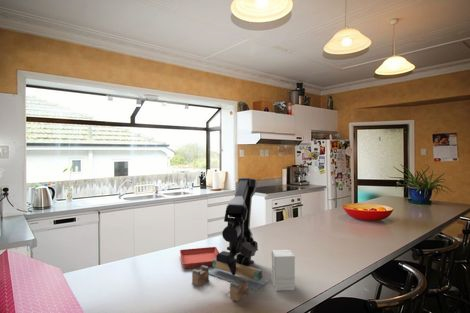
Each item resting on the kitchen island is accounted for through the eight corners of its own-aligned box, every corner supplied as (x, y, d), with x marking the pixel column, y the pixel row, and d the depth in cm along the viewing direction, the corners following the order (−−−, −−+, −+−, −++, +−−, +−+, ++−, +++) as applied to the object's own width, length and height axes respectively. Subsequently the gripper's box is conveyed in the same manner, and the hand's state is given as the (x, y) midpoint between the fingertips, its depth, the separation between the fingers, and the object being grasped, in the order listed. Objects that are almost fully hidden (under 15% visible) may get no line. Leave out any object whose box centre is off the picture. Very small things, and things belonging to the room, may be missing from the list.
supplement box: (290, 281, 107) (290, 249, 107) (295, 290, 99) (295, 256, 99) (271, 281, 106) (271, 249, 106) (274, 291, 99) (274, 256, 99)
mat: (219, 267, 119) (219, 266, 119) (267, 282, 105) (267, 281, 105) (206, 273, 113) (206, 272, 113) (256, 290, 99) (256, 289, 99)
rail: (217, 264, 117) (217, 257, 117) (262, 278, 104) (262, 270, 104) (212, 267, 114) (212, 259, 114) (257, 281, 102) (257, 273, 102)
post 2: (240, 291, 98) (240, 277, 98) (247, 294, 97) (247, 279, 97) (230, 298, 93) (230, 283, 93) (237, 301, 92) (237, 285, 92)
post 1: (202, 278, 109) (203, 265, 109) (208, 280, 107) (208, 267, 107) (192, 283, 104) (192, 270, 104) (198, 286, 102) (198, 272, 102)
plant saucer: (181, 271, 116) (181, 263, 116) (179, 256, 134) (179, 249, 134) (223, 267, 121) (223, 259, 121) (215, 253, 138) (215, 246, 138)
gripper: (239, 244, 97) (239, 288, 97) (265, 232, 112) (265, 270, 112) (215, 238, 103) (215, 279, 103) (243, 228, 119) (242, 264, 119)
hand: (236, 273), depth 109 cm, fingers closed on rail, 3 cm apart
